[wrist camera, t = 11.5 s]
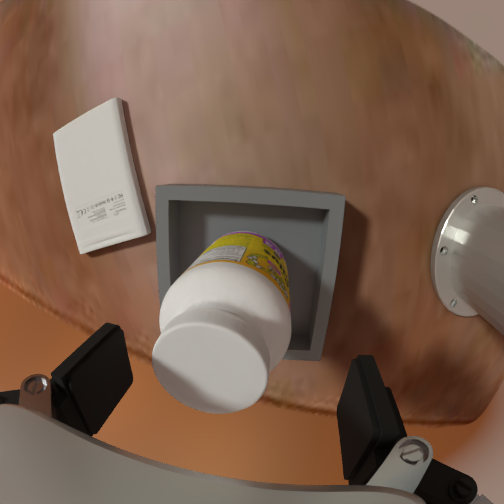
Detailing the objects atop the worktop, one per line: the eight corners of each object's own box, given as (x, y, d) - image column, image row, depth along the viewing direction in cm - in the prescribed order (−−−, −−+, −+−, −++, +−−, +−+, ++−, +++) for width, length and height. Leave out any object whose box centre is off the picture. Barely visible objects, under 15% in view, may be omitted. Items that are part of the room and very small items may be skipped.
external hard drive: (124, 100, 21) (154, 231, 24) (61, 134, 22) (87, 251, 25) (115, 96, 19) (146, 235, 22) (51, 134, 20) (78, 255, 23)
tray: (336, 193, 21) (345, 195, 18) (316, 341, 24) (320, 360, 21) (170, 183, 22) (155, 185, 19) (175, 327, 25) (164, 344, 22)
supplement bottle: (293, 302, 23) (302, 424, 10) (214, 312, 24) (163, 427, 11) (279, 220, 21) (280, 285, 9) (195, 236, 22) (105, 307, 10)
